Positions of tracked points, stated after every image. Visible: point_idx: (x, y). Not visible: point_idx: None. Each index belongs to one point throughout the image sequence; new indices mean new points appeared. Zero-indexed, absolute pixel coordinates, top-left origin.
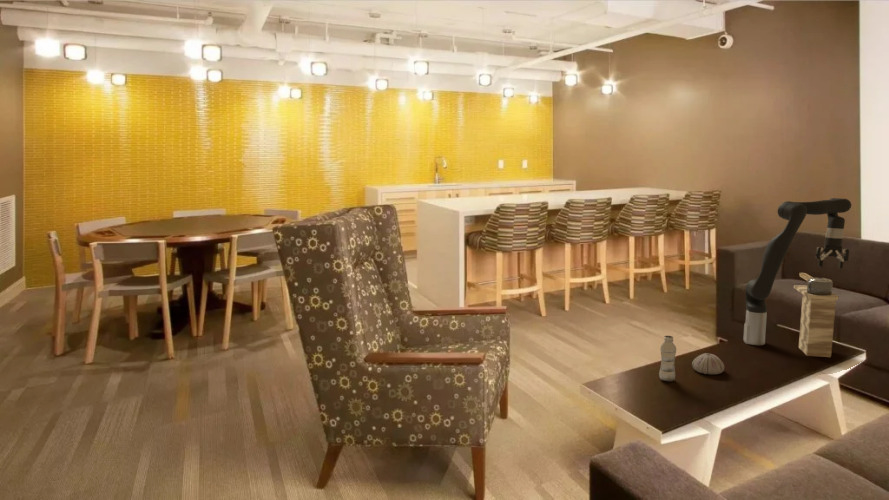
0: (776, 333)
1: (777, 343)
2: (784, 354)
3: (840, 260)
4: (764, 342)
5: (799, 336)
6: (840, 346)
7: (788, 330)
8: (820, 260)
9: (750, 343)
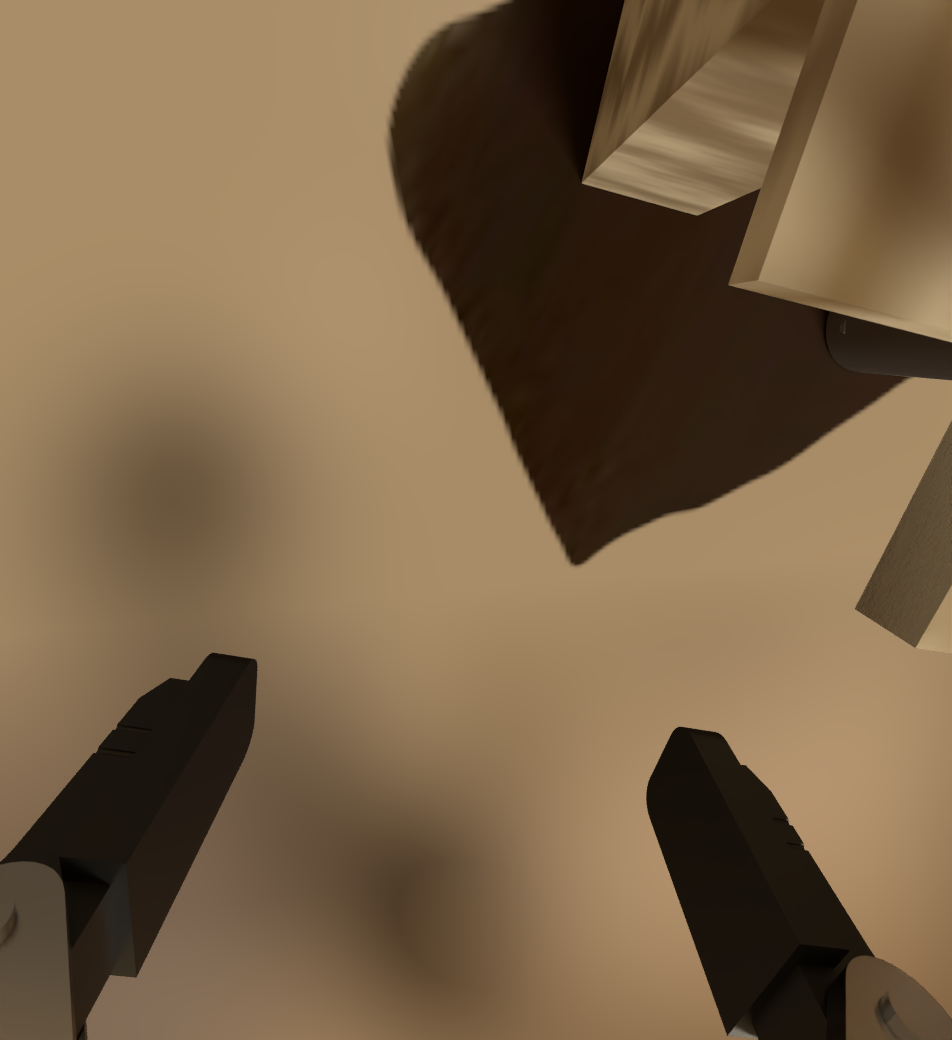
0: (653, 484)
1: (761, 302)
2: None
3: (74, 979)
4: None
5: (740, 195)
6: (440, 228)
7: (559, 535)
8: (860, 959)
9: None
